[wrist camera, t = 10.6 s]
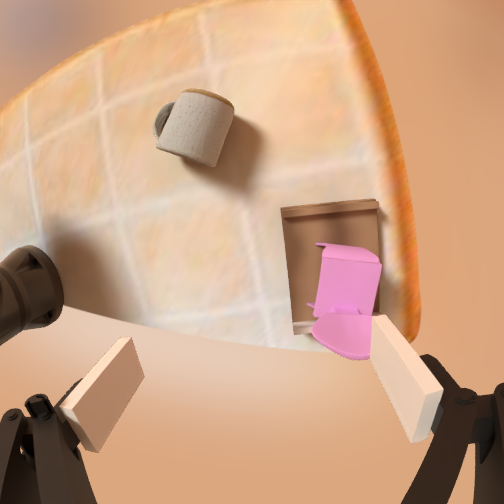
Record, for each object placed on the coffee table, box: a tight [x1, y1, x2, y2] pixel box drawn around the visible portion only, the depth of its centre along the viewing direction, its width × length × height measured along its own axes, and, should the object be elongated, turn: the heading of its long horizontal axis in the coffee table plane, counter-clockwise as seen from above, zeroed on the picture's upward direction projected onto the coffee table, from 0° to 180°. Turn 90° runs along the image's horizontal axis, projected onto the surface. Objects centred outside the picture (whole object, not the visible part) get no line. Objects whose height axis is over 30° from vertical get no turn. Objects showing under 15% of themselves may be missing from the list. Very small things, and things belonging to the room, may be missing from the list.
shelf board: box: [281, 199, 381, 335], centre depth 37 cm, size 12×16×4 cm
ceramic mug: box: [153, 89, 234, 167], centre depth 33 cm, size 11×8×8 cm
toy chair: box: [307, 243, 382, 360], centre depth 30 cm, size 8×9×15 cm
